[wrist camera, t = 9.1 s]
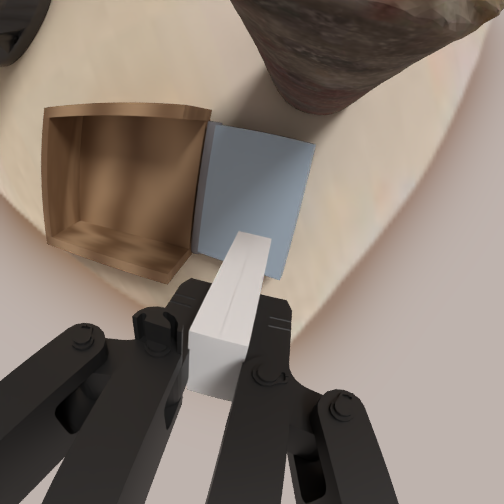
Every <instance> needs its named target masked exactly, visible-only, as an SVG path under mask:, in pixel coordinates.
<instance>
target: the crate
mask: <svg viewBox="0 0 504 504" xmlns="http://www.w3.org/2000/svg"><path fill="white" fill-rule="evenodd" d="M211 112H212V110H209V109H204V108H199V107H194V106H188V105H179V104H163V103H92V104H77V105H65V106H56V107H48V108H44V117H43V130H42V152H41V177H42V199H43V212H44V222H45V231H46V239H47V244H49V245H52V246H54V247H57V248H60V249H62V250H65V251H68V252H70V253H73V254H76V255H79V256H81V257H84V258H87V259H90V260H93V261H96V262H99V263H102V264H105V265H107V266H110V267H113V268H117V269H120V270H123V271H126V272H129V273H132V274H135V275H138V276H141V277H145V278H148V279H151V280H154V281H158V282H161V283H164V284H168V283H169V282H170V281H171V279H172V278H173V277H174V275H175V274H176V273H177V272H178V270H179V269H180V268H181V267H182V265H183V264H184V263H185V262H186V260H187V259H188V258H189V257H190V255H191V254H192V252H191V242H192V232H193V223H194V214H195V206H196V198H197V190H198V183H199V175H200V168H201V162H202V155H203V149H204V142H205V136H206V130H207V125H208V121H210V117H211Z"/></svg>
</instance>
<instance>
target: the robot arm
mask: <svg viewBox="0 0 504 504" xmlns="http://www.w3.org/2000/svg"><path fill="white" fill-rule="evenodd" d="M50 1H51V0H0V66H8V65H10V64H12V63H14V62H15V61H16V60H17V59H18V58H19V57H20V56H21V55H22V54H23V52H24V51H25V50H26V48H27V47H28V46H29V44H30V43H31V41H32V39H33V38H34V36H35V34H36V33H37V31H38V29H39V27H40V25H41V23H42V21H43V19H44V17H45V15H46V12H47V10H48V7H49V4H50ZM270 244H271V238H267V237H262V236H258V235H254V234H249V233H245V232H241V231H238V233H237V235H236V237H235V239H234V241H233V243H232V245H231V247H230V249H229V251H228V253H227V255H226V257H225V259H224V261H223V263H222V265H221V267H220V269H219V271H218V273H217V275H216V277H215V279H214V281H213V283H208V282H204V281H201V280H197V279H193V278H190V279H189V280H187V281H185V282H184V283H182V284H181V285H180V286H179V288H178V289H177V291H176V292H175V295H173V297H172V299H171V300H170V302H169V303H168V305H167V306H166V308H163V307H147V308H144V309H142V310H139V311H138V312H137V313H135V314H134V315H133V316H132V318H133V326H134V333H135V339H134V340H118V339H108V338H105V335H104V332H103V331H102V330H101V329H100V328H99V327H98V326H95V325H93V324H89V323H81V324H76V325H74V326H72V327H70V328H68V329H67V330H65V331H64V332H63V333H61V334H60V335H59V336H57V337H56V338H55V339H53V340H52V341H51V342H49V343H48V344H47V345H45V346H44V347H43V348H41V349H40V350H39V351H38V352H36V353H35V354H34V355H32V356H31V357H30V358H29V359H27V360H26V361H25V362H23V363H22V364H21V365H20V366H18V367H17V368H16V369H15V370H13V371H12V372H11V373H10V374H9V375H7V376H6V377H5V378H4V379H2V380H1V381H0V504H19V503H20V502H21V501H22V500H23V499H24V498H25V497H26V496H27V495H28V493H30V492H31V491H32V490H33V489H34V488H35V487H36V486H37V485H38V484H39V483H40V481H42V480H43V478H45V477H46V475H47V474H48V473H49V472H50V471H51V470H52V469H53V468H54V467H55V466H56V465H57V464H58V463H59V462H60V461H61V460H62V459H63V458H64V457H65V458H64V460H63V462H62V464H61V466H60V467H59V469H58V471H57V474H56V475H55V477H54V479H53V481H52V483H51V485H50V487H49V489H48V492H47V493H46V496H45V498H44V500H43V502H42V504H145V501H146V498H147V495H148V492H149V490H150V487H151V484H152V482H153V479H154V476H155V474H156V471H157V468H158V466H159V463H160V460H161V457H162V455H163V452H164V450H165V447H166V444H167V442H168V439H169V436H170V433H171V431H172V428H173V425H174V423H175V420H176V418H177V415H178V412H179V410H180V407H181V405H182V398H183V397H182V394H183V391H184V389H185V386H186V384H187V390H190V391H194V392H197V393H201V394H204V395H208V396H211V397H215V398H220V399H223V400H228V401H232V404H231V409H230V412H229V416H228V419H227V423H226V426H225V427H226V428H225V431H224V435H223V439H222V443H221V447H220V451H219V455H218V458H217V462H216V466H215V470H214V474H213V477H212V481H211V484H210V488H209V492H208V496H207V499H206V503H205V504H281V496H282V489H283V481H284V473H285V472H284V471H285V463H286V454H287V455H288V460H289V466H290V471H291V477H292V483H293V488H294V494H295V499H296V504H399V503H398V501H397V497H396V494H395V491H394V488H393V485H392V482H391V479H390V476H389V473H388V470H387V467H386V464H385V461H384V458H383V456H382V453H381V450H380V447H379V445H378V442H377V439H376V436H375V434H374V431H373V428H372V425H371V423H370V420H369V417H368V415H367V412H366V410H365V407H364V405H363V404H362V402H361V400H360V399H359V398H358V397H356V396H355V395H354V394H353V393H350V392H348V391H345V390H337V389H335V390H332V391H327V392H326V393H325V394H324V395H322V394H319V393H317V392H314V391H312V390H310V389H308V388H306V387H304V386H303V385H301V384H300V383H299V382H297V381H296V380H295V378H294V377H293V375H292V374H291V371H290V369H289V355H290V338H291V320H292V310H291V308H290V306H289V304H288V302H287V300H283V299H278V298H274V297H270V296H265V295H261V294H260V292H261V287H262V283H263V278H264V273H265V268H266V264H267V259H268V254H269V249H270Z"/></svg>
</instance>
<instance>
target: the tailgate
mask: <svg viewBox="0 0 504 504" xmlns="http://www.w3.org/2000/svg"><path fill="white" fill-rule="evenodd" d="M315 146H316V145H315V144H311V143H308V142H304V141H300V140H295V139H291V138H287V137H283V136H278V135H273V134H269V133H264V132H259V131H254V130H248V129H243V128H237V127H231V126H225V125H222V123H220V122H213V121H208V125H207V130H206V136H205V142H204V149H203V155H202V162H201V168H200V175H199V183H198V190H197V198H196V206H195V214H194V223H193V232H192V242H191V252H192V253H195V254H201V253H202V254H205V255H207V256H210V257H213V258H216V259H219V260H222V261H224V259H225V257H226V255H227V253H228V251H229V249H230V247H231V245H232V243H233V241H234V239H235V237H236V235H237V233H238V231H241V232H245V233H249V234H254V235H258V236H262V237H267V238H271V244H270V249H269V254H268V259H267V264H266V268H265V273H264V275H265V276H268V277H271V278H274V279H277V280H280V278H281V276H282V274H283V270H284V267H285V263H286V260H287V256H288V252H289V249H290V245H291V241H292V238H293V234H294V230H295V226H296V223H297V219H298V215H299V211H300V207H301V203H302V199H303V195H304V191H305V187H306V183H307V179H308V175H309V171H310V167H311V163H312V159H313V155H314V150H315Z"/></svg>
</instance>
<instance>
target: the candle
mask: <svg viewBox="0 0 504 504" xmlns="http://www.w3.org/2000/svg"><path fill="white" fill-rule="evenodd" d="M230 1H231V2H232V4H233V6H234V8H235V10H236V11H237V13H238V14H239V16H240V17H241V19H242V21H243V23H244V25H245V27H246V28H247V30H248V32H249V34H250V35H251V37H252V39H253V41H254V43H255V45H256V46H257V48H258V51H259V53H260V55H261V57H262V59H263V61H264V63H265V66H266V68H267V70H268V72H269V74H270V76H271V78H272V80H273V82H274V84H275V86H276V88H277V90H278V91H279V93H280V94H281V95H282V97H283V98H284V99H285V100H286V101H287V102H288V103H289V104H290V105H292V106H293V107H295V108H296V109H298V110H301V111H303V112H306V113H311V114H315V115H327V114H332V113H335V112H338V111H340V110H342V109H344V108H346V107H348V106H349V105H351V104H352V103H354V102H355V101H357V100H358V99H359V98H361V97H362V96H364V95H365V94H366V93H368V92H369V91H370V90H372V89H373V88H375V87H377V86H378V85H380V84H381V83H383V82H384V81H386V80H388V79H390V78H391V77H393V76H395V75H396V74H398V73H400V72H401V71H403V70H404V69H405V68H407V67H409V66H410V65H412V64H413V63H415V62H417V61H419V60H421V59H422V58H424V57H426V56H428V55H430V54H432V53H434V52H436V51H437V50H439V49H441V48H443V47H445V46H446V45H448V44H450V43H452V42H453V41H456V40H459V39H461V38H463V37H465V36H467V35H469V34H470V33H472V32H474V31H476V30H477V29H478V28H479V27H480V26H481V25H483V24H484V23H485V22H487V21H489V20H491V19H493V18H495V17H497V16H498V15H499V14H500V12H501V11H502V10H503V9H504V0H230Z"/></svg>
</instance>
